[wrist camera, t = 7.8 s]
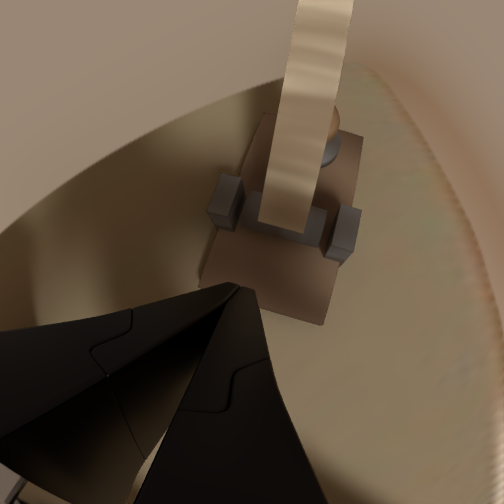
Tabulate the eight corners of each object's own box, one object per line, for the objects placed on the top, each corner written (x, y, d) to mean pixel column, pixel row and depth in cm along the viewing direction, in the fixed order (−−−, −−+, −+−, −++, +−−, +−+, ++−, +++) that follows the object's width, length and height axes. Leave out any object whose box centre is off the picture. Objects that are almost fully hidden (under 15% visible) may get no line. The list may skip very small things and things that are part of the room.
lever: (314, 261, 15) (380, -53, 6) (234, 238, 16) (289, -69, 7) (319, 233, 18) (374, -27, 9) (252, 214, 19) (300, -41, 10)
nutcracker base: (323, 326, 17) (343, 323, 12) (199, 288, 18) (169, 270, 13) (362, 145, 20) (381, 95, 15) (262, 120, 22) (258, 67, 16)
